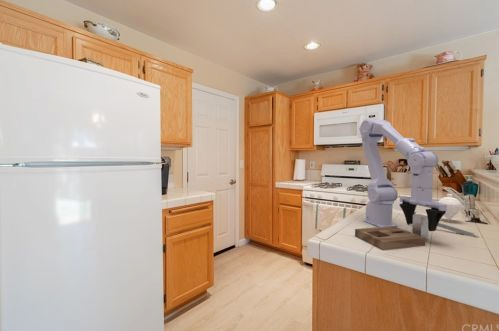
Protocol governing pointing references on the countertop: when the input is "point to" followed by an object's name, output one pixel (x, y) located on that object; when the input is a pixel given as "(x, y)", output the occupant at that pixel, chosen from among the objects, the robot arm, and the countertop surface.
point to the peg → (420, 225)
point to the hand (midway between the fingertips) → (420, 227)
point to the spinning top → (451, 206)
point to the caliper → (456, 229)
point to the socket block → (390, 237)
